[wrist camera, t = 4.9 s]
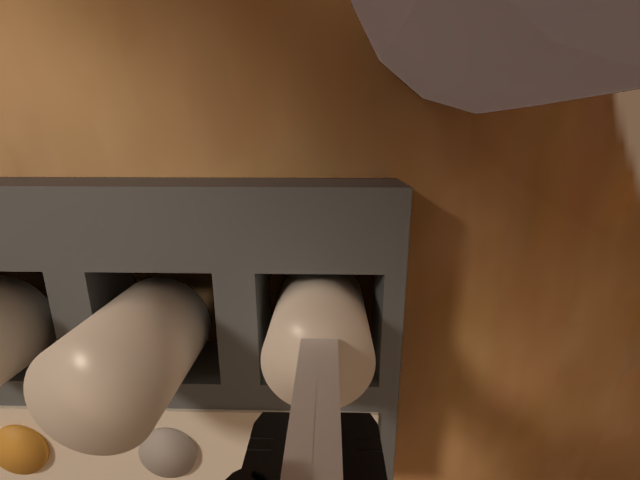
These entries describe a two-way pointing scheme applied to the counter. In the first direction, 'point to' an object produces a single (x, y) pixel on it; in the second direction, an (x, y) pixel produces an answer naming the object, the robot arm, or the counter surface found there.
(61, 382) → the button
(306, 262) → the board
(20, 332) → the button
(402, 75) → the soap bottle
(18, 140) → the counter surface
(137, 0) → the counter surface
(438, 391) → the counter surface
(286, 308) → the button
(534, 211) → the counter surface
